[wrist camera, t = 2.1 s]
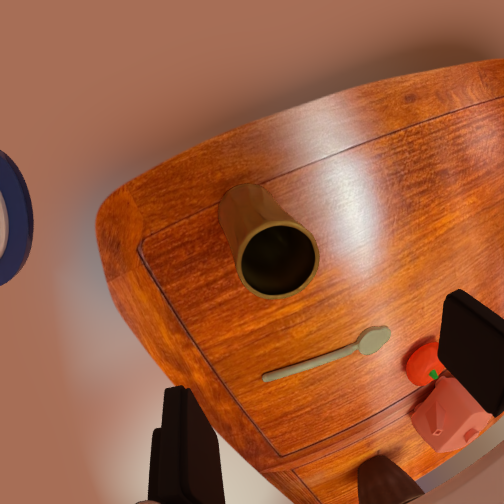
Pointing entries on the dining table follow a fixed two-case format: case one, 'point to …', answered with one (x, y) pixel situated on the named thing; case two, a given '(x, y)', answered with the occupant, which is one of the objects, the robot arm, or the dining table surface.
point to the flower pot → (385, 483)
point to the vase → (267, 243)
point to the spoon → (338, 352)
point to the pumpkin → (424, 365)
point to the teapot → (449, 416)
